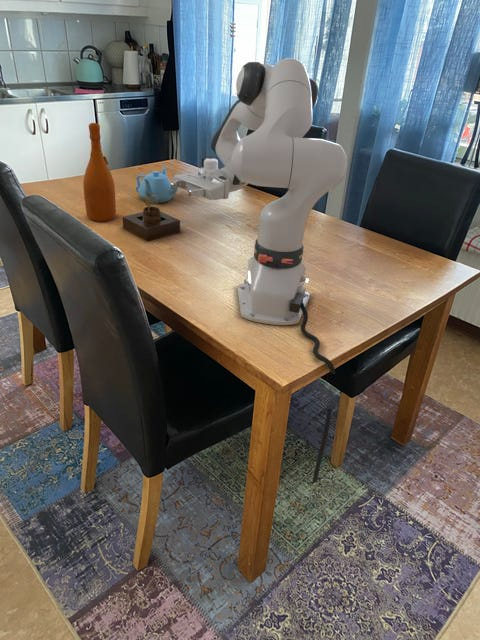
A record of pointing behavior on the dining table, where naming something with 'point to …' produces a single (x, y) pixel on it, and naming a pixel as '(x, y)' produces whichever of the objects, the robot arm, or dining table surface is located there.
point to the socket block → (151, 226)
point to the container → (208, 164)
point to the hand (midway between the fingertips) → (180, 189)
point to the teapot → (155, 187)
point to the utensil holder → (151, 212)
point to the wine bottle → (98, 182)
